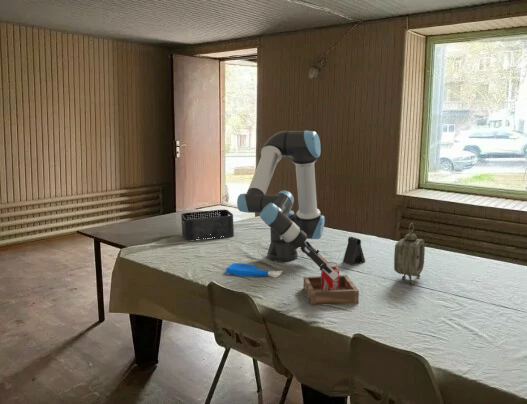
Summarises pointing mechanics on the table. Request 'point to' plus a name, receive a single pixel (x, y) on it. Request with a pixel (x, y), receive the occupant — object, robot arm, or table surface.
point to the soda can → (327, 281)
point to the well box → (331, 291)
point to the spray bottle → (250, 270)
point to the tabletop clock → (409, 255)
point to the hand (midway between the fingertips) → (331, 271)
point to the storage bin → (207, 224)
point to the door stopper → (354, 252)
